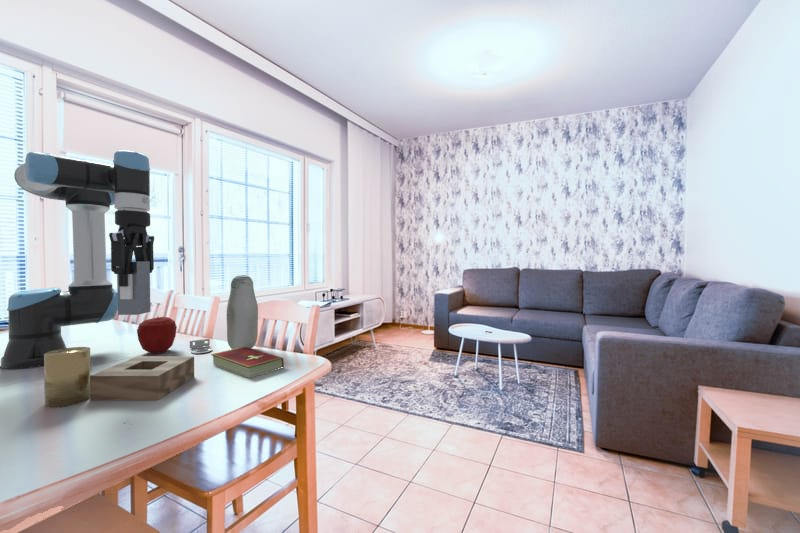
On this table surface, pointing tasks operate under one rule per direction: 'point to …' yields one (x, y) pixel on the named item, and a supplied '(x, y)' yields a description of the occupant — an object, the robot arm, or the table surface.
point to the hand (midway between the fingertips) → (134, 297)
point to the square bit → (136, 290)
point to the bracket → (200, 344)
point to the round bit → (67, 376)
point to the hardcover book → (247, 361)
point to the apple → (157, 334)
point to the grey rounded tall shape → (242, 314)
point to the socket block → (142, 378)
